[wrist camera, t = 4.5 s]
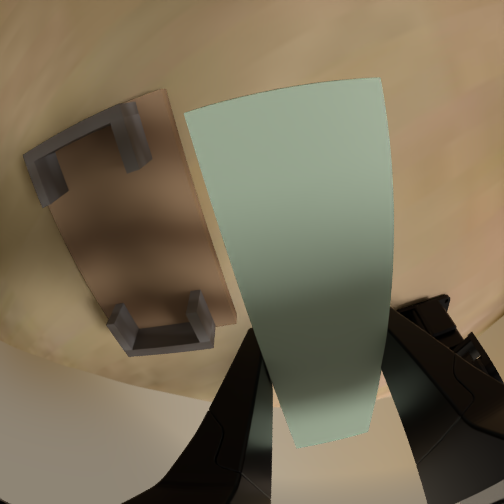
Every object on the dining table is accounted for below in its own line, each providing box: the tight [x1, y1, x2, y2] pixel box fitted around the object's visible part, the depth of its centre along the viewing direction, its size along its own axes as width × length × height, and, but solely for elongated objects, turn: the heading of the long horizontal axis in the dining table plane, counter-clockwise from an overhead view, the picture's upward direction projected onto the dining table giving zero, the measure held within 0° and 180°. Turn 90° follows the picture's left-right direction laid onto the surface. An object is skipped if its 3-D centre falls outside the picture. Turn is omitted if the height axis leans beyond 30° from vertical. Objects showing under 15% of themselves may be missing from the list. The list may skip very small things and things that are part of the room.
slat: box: [184, 78, 394, 448], centre depth 9 cm, size 14×4×3 cm, turn 13°
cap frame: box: [23, 89, 237, 357], centre depth 19 cm, size 18×11×4 cm, turn 13°
